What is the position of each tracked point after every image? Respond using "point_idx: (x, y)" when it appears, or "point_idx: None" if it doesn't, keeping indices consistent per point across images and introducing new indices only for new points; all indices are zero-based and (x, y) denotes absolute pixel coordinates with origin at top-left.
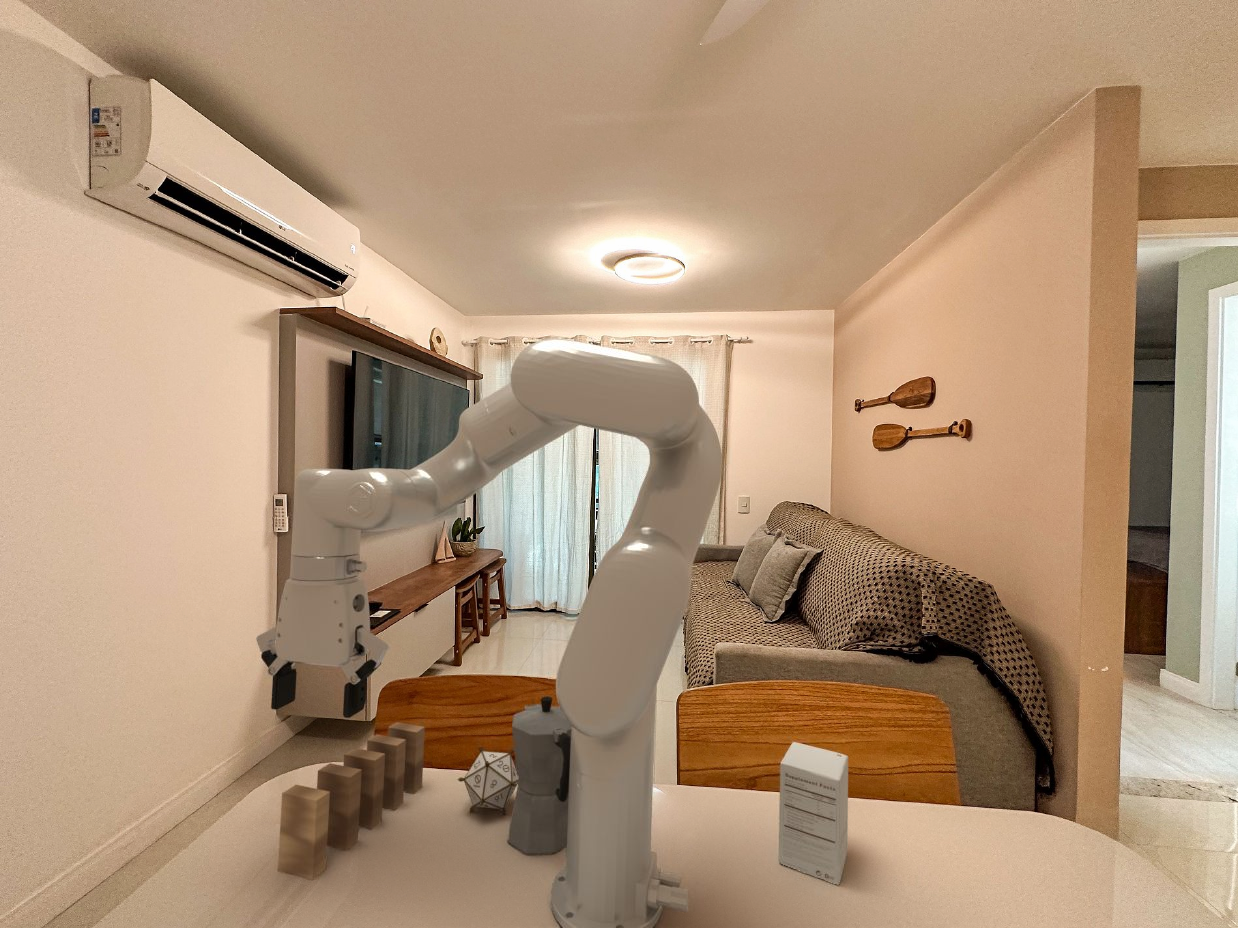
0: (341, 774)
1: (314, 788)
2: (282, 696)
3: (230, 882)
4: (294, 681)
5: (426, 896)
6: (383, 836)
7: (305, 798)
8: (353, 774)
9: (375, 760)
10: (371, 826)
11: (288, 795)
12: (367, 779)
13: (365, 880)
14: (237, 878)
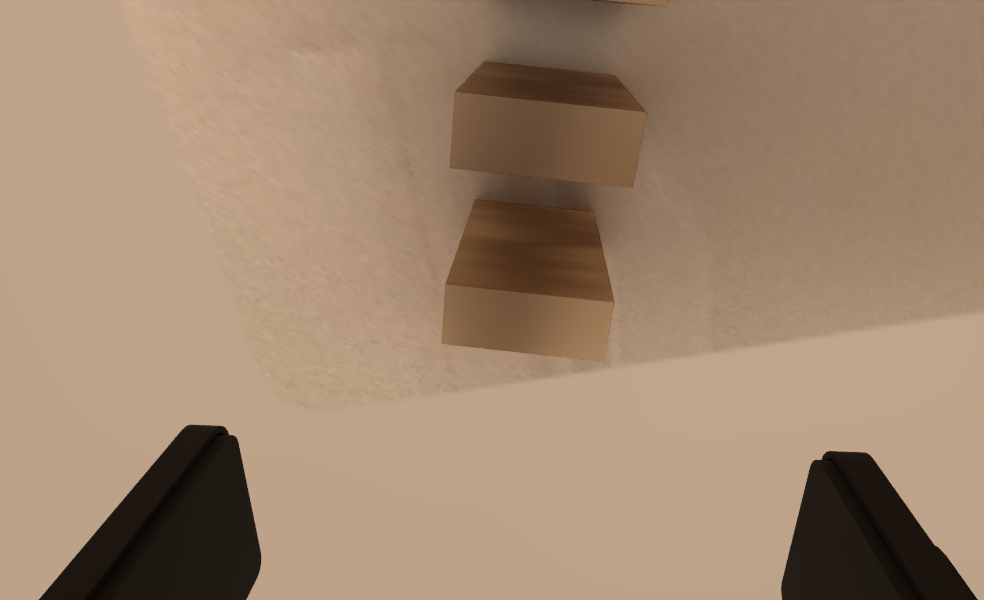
0: (578, 174)
1: (539, 295)
2: (224, 591)
3: (391, 300)
4: (157, 560)
5: (930, 252)
6: (688, 32)
7: (550, 353)
8: (632, 161)
9: (667, 3)
10: (625, 3)
11: (472, 344)
12: (613, 1)
13: (732, 231)
14: (395, 286)
